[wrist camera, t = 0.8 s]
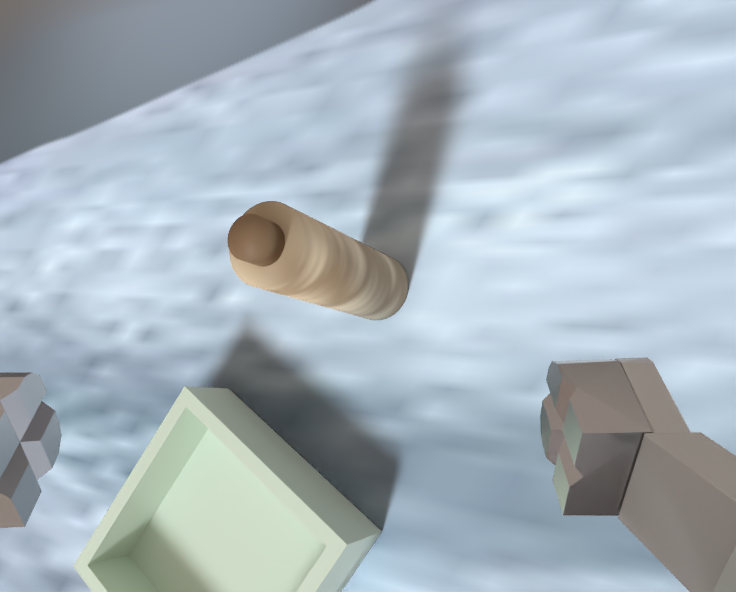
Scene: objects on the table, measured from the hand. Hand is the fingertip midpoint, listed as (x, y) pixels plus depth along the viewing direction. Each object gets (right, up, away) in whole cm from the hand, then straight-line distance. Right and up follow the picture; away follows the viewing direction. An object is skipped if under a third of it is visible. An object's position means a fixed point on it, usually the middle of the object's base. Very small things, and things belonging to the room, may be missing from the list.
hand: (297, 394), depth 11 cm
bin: (-8, -16, +38) cm, 43 cm away
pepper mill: (+2, +2, +37) cm, 37 cm away
